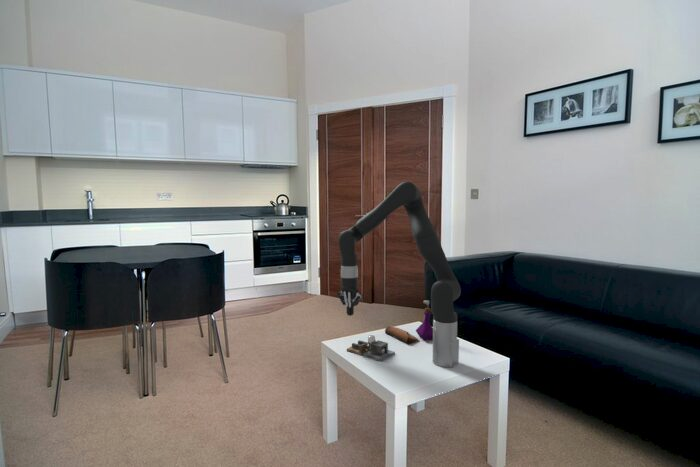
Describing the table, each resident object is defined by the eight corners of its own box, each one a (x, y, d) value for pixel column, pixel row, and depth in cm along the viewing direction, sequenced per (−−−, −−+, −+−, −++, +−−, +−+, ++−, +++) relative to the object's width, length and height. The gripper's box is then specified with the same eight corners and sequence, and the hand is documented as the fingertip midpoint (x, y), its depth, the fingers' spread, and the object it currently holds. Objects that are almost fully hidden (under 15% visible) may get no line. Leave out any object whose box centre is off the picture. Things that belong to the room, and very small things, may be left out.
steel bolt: (385, 352, 163) (385, 338, 163) (381, 354, 161) (381, 340, 160) (369, 347, 168) (369, 334, 168) (365, 349, 166) (365, 336, 165)
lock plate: (394, 354, 164) (395, 342, 164) (381, 361, 157) (381, 349, 156) (360, 344, 176) (360, 333, 175) (346, 351, 168) (346, 339, 168)
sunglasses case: (422, 341, 179) (416, 330, 177) (411, 351, 177) (405, 340, 174) (398, 330, 195) (393, 320, 193) (388, 339, 192) (382, 329, 190)
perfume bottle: (437, 340, 180) (437, 302, 179) (422, 342, 178) (422, 303, 177) (429, 335, 188) (430, 298, 186) (415, 336, 186) (415, 299, 184)
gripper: (366, 276, 169) (367, 315, 170) (343, 273, 178) (344, 311, 179) (356, 278, 163) (356, 319, 165) (332, 275, 172) (333, 314, 173)
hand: (350, 315), depth 172 cm, fingers closed
